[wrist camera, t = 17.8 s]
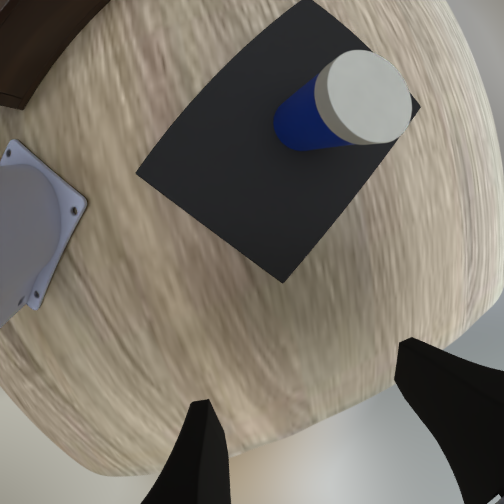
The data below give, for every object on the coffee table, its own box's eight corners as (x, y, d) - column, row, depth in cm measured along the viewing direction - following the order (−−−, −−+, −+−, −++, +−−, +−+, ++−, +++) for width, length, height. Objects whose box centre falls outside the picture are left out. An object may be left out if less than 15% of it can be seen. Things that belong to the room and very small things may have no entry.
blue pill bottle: (299, 163, 16) (374, 163, 8) (260, 121, 15) (305, 81, 7) (337, 128, 15) (426, 109, 8) (300, 87, 14) (369, 34, 7)
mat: (281, 281, 18) (283, 284, 18) (136, 173, 15) (135, 173, 14) (418, 107, 16) (421, 106, 15) (304, -2, 13) (306, -4, 12)
